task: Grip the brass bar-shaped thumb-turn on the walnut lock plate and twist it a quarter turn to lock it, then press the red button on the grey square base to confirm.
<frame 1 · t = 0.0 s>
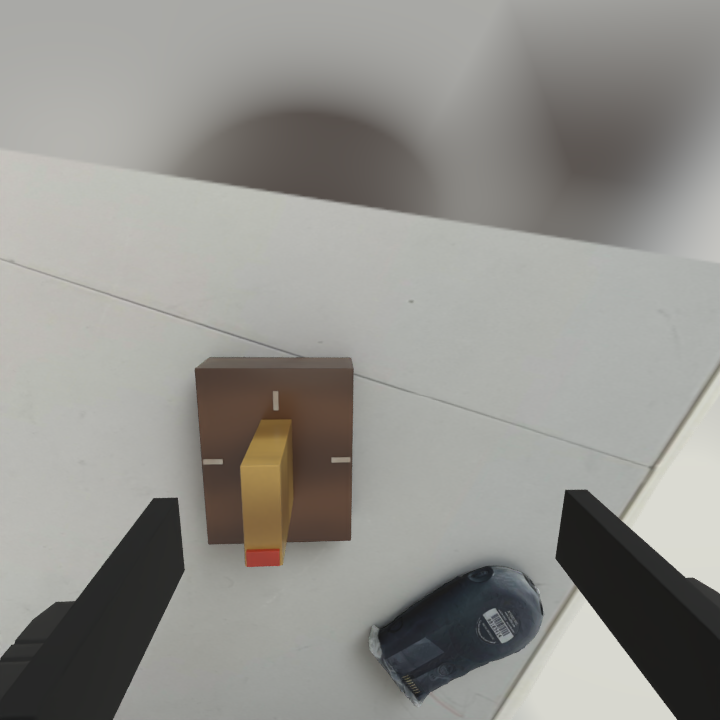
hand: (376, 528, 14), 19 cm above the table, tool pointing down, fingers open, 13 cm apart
thumb turn: (270, 486, 27), point 7 cm above the table, hinge at 0.0°
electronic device: (458, 613, 39), on the table
lock plate: (283, 440, 34), on the table
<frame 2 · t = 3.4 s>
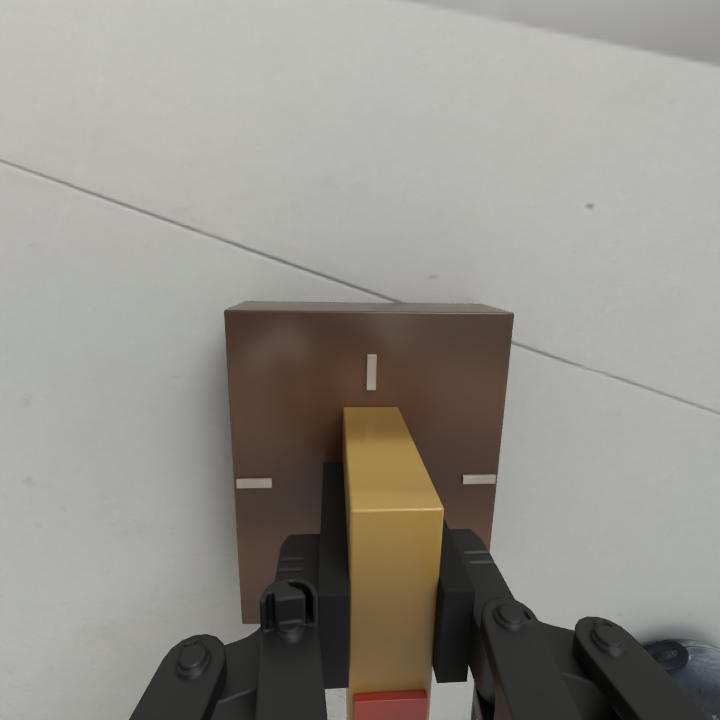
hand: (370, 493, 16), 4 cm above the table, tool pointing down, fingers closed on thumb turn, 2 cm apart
thumb turn: (378, 537, 13), point 7 cm above the table, hinge at 0.0°, touching gripper
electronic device: (610, 705, 26), on the table
lock plate: (362, 444, 20), on the table
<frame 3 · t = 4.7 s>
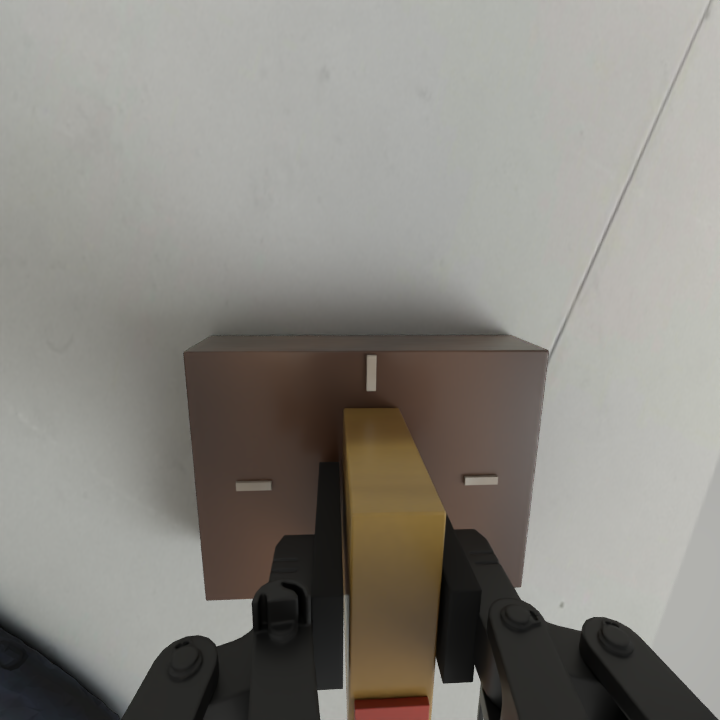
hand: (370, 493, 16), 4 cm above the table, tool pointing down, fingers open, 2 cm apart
thumb turn: (379, 540, 13), point 7 cm above the table, hinge at 89.5°
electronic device: (38, 714, 23), on the table
lock plate: (363, 445, 20), on the table
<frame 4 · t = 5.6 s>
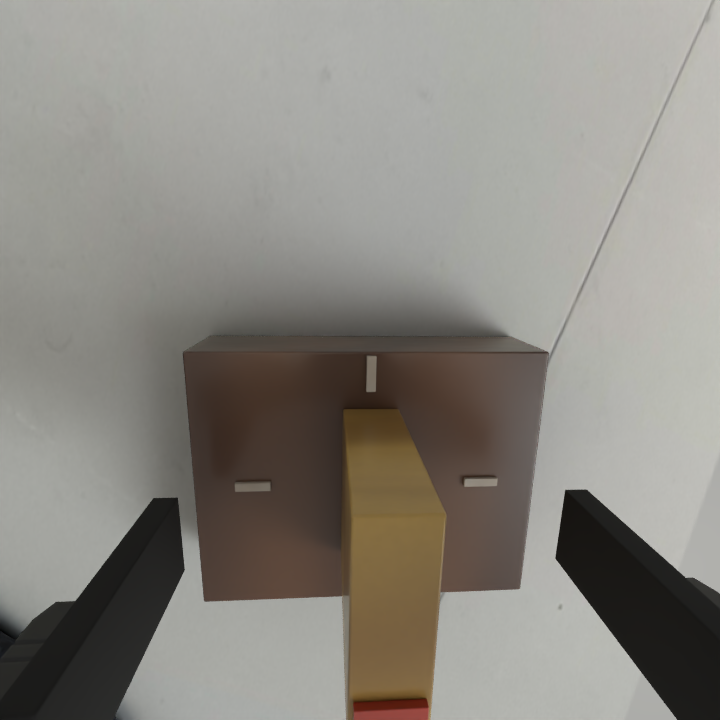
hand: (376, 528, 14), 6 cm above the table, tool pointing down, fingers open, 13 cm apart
thumb turn: (378, 542, 13), point 7 cm above the table, hinge at 89.5°
lock plate: (362, 446, 20), on the table
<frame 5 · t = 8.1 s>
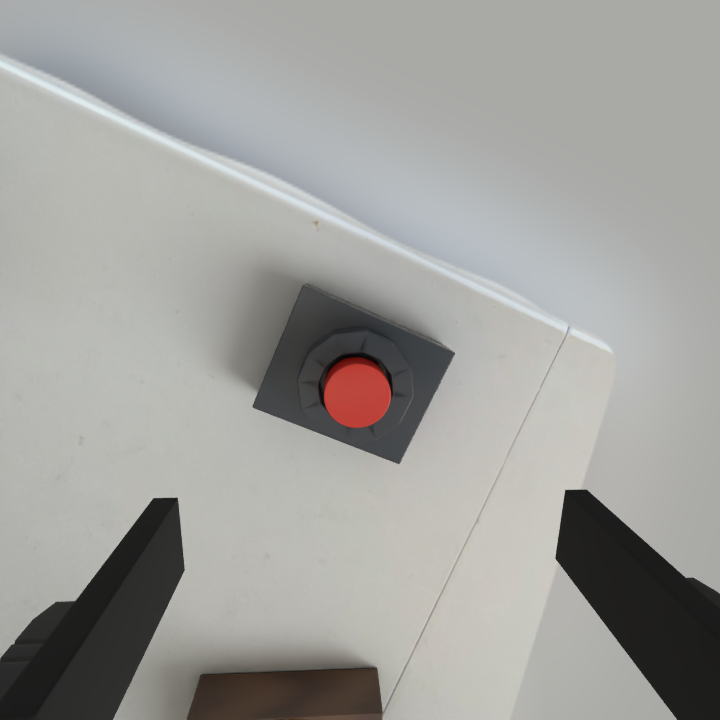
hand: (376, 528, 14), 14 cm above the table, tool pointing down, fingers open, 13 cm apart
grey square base: (351, 369, 28), on the table
button: (356, 391, 23), point 5 cm above the table, slide at 0.1 cm
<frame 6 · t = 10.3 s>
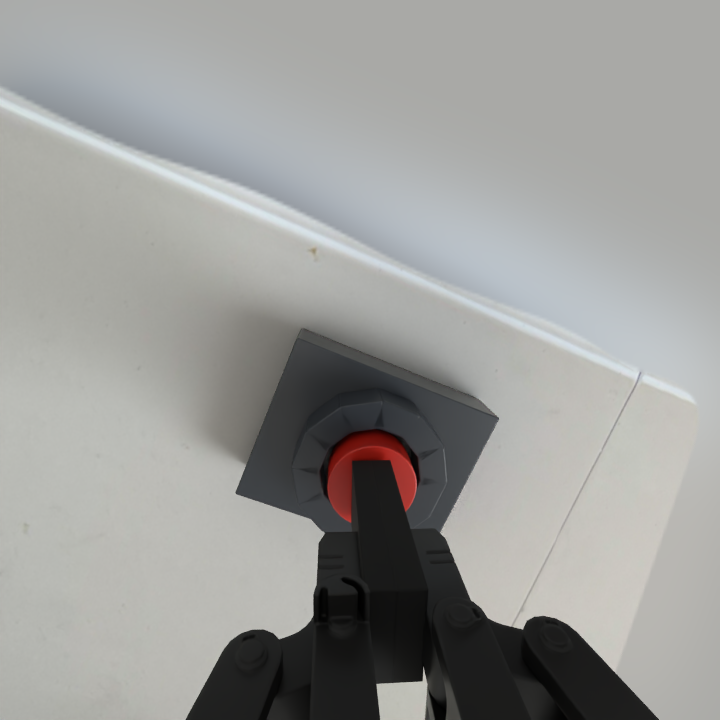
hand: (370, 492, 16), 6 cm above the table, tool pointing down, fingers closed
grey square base: (363, 433, 22), on the table
button: (370, 476, 17), point 5 cm above the table, slide at -0.3 cm, touching gripper
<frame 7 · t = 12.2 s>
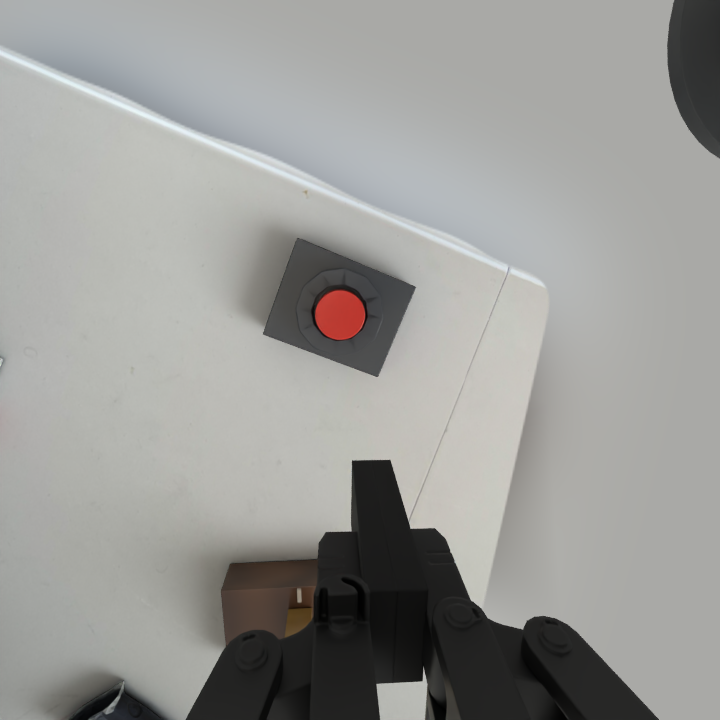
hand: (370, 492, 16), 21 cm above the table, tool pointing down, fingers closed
thumb turn: (298, 674, 35), point 7 cm above the table, hinge at 89.5°
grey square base: (338, 307, 35), on the table
button: (339, 314, 31), point 5 cm above the table, slide at 0.1 cm
lock plate: (303, 606, 42), on the table
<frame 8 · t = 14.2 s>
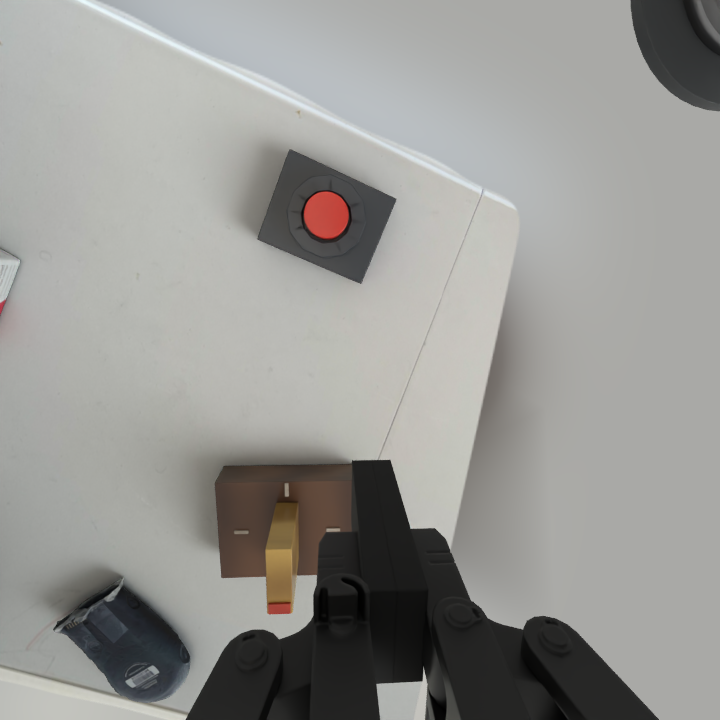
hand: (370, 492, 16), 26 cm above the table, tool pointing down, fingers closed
thumb turn: (283, 555, 39), point 7 cm above the table, hinge at 89.5°
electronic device: (138, 634, 48), on the table
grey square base: (327, 222, 39), on the table
button: (326, 216, 34), point 5 cm above the table, slide at 0.1 cm
lock plate: (291, 510, 46), on the table
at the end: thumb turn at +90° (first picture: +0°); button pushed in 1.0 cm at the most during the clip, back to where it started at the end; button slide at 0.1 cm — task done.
